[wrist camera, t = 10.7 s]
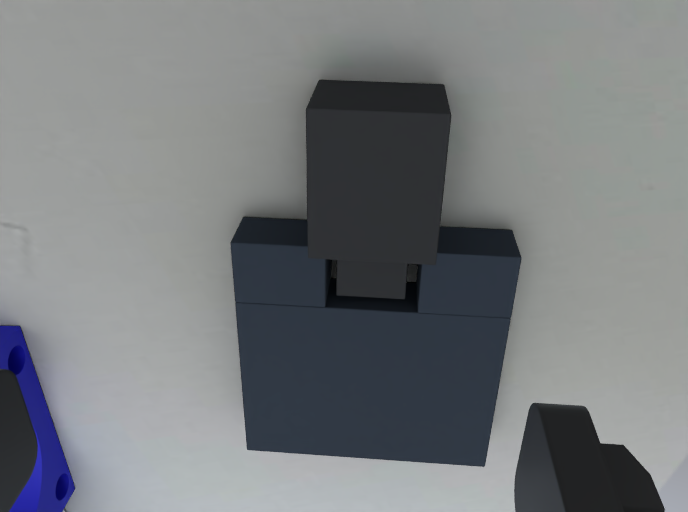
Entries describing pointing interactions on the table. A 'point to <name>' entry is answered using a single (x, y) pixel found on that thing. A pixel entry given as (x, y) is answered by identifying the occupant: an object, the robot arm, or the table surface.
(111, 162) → the table surface
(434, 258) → the black usb stick
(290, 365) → the grey pad
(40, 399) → the blue half-round bracket
